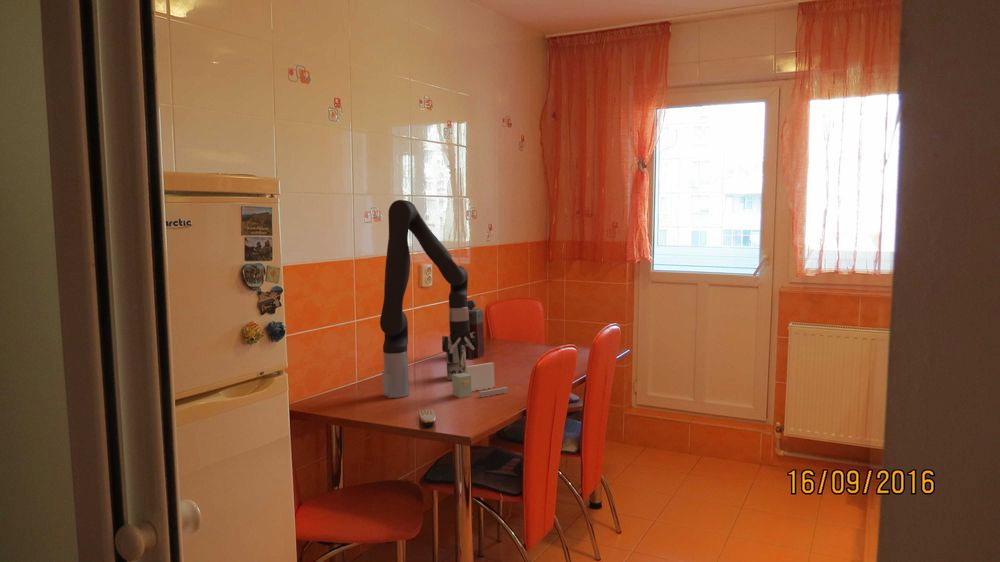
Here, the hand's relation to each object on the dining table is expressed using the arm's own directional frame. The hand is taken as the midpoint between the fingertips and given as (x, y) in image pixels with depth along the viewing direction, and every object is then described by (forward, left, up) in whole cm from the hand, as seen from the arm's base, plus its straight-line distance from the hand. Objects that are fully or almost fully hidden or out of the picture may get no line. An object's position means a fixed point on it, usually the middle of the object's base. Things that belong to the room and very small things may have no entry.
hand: (461, 361), depth 266 cm
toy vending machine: (+38, +63, -14) cm, 75 cm away
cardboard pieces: (+10, -2, -13) cm, 17 cm away
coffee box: (+12, +28, -14) cm, 33 cm away
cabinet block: (0, 0, -13) cm, 13 cm away
